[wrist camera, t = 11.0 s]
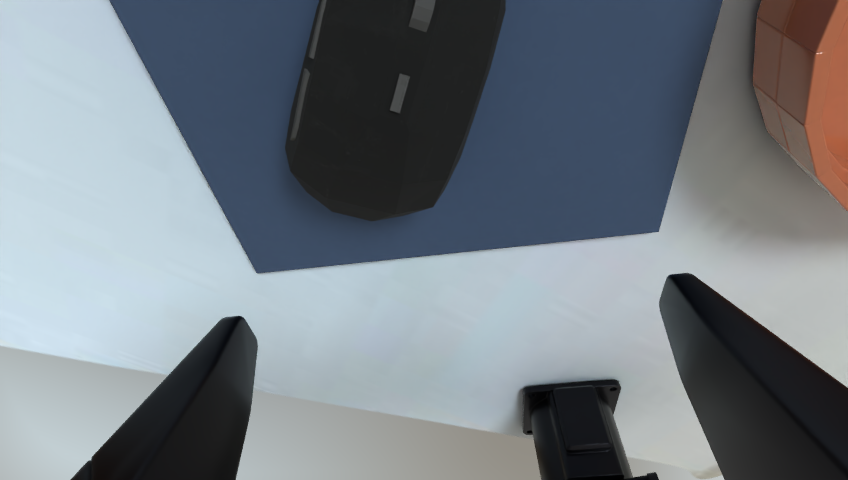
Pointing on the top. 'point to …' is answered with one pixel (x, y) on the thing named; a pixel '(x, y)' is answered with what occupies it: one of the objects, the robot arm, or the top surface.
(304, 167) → the gaming mouse
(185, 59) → the mouse mat
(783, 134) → the terracotta plant saucer
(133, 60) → the top surface
